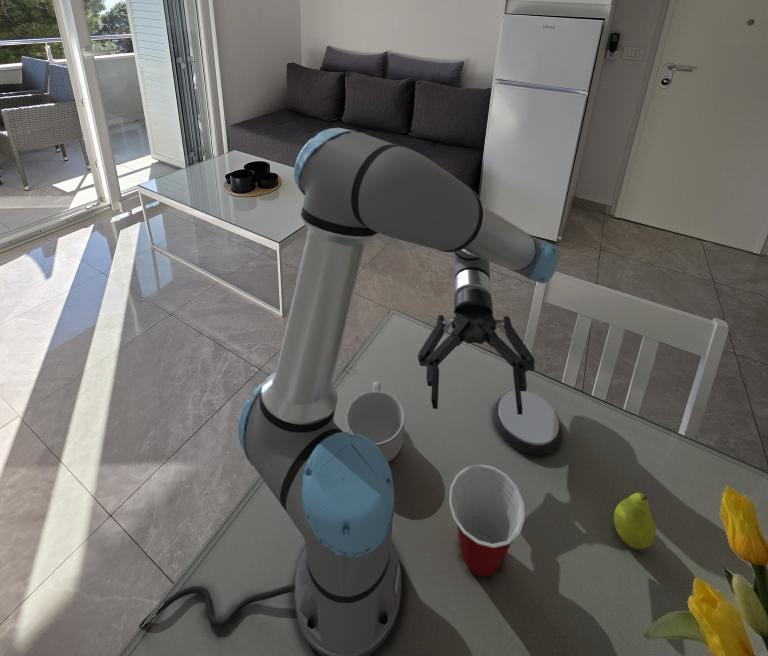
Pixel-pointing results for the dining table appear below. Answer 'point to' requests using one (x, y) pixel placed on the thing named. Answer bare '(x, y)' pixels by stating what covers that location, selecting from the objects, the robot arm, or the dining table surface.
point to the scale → (528, 424)
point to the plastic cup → (485, 516)
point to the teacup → (378, 420)
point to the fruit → (635, 521)
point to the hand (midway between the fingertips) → (476, 407)
